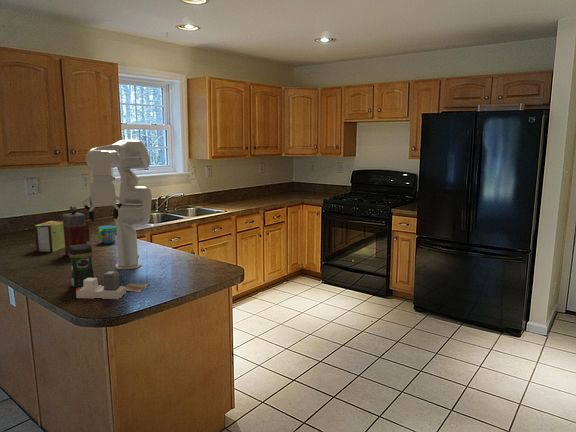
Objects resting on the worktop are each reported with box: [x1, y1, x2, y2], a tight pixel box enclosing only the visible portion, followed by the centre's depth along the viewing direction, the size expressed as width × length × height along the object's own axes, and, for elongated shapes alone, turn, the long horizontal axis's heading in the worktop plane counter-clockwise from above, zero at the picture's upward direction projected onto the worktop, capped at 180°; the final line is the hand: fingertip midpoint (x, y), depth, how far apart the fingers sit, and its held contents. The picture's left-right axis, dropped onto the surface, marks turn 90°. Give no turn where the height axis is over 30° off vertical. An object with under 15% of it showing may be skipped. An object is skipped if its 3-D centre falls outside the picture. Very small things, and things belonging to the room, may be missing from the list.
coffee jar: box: [68, 243, 96, 288], centre depth 196 cm, size 10×8×19 cm
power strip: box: [75, 277, 127, 300], centre depth 183 cm, size 18×7×7 cm, turn 86°
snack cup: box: [97, 225, 117, 244], centre depth 278 cm, size 16×10×10 cm
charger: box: [102, 270, 120, 291], centre depth 183 cm, size 4×4×7 cm
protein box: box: [33, 220, 65, 253], centre depth 261 cm, size 10×15×16 cm
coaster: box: [124, 283, 149, 292], centre depth 193 cm, size 9×9×1 cm
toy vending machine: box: [62, 205, 91, 257], centre depth 247 cm, size 9×11×28 cm
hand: (104, 219), depth 189 cm, fingers open, 9 cm apart
